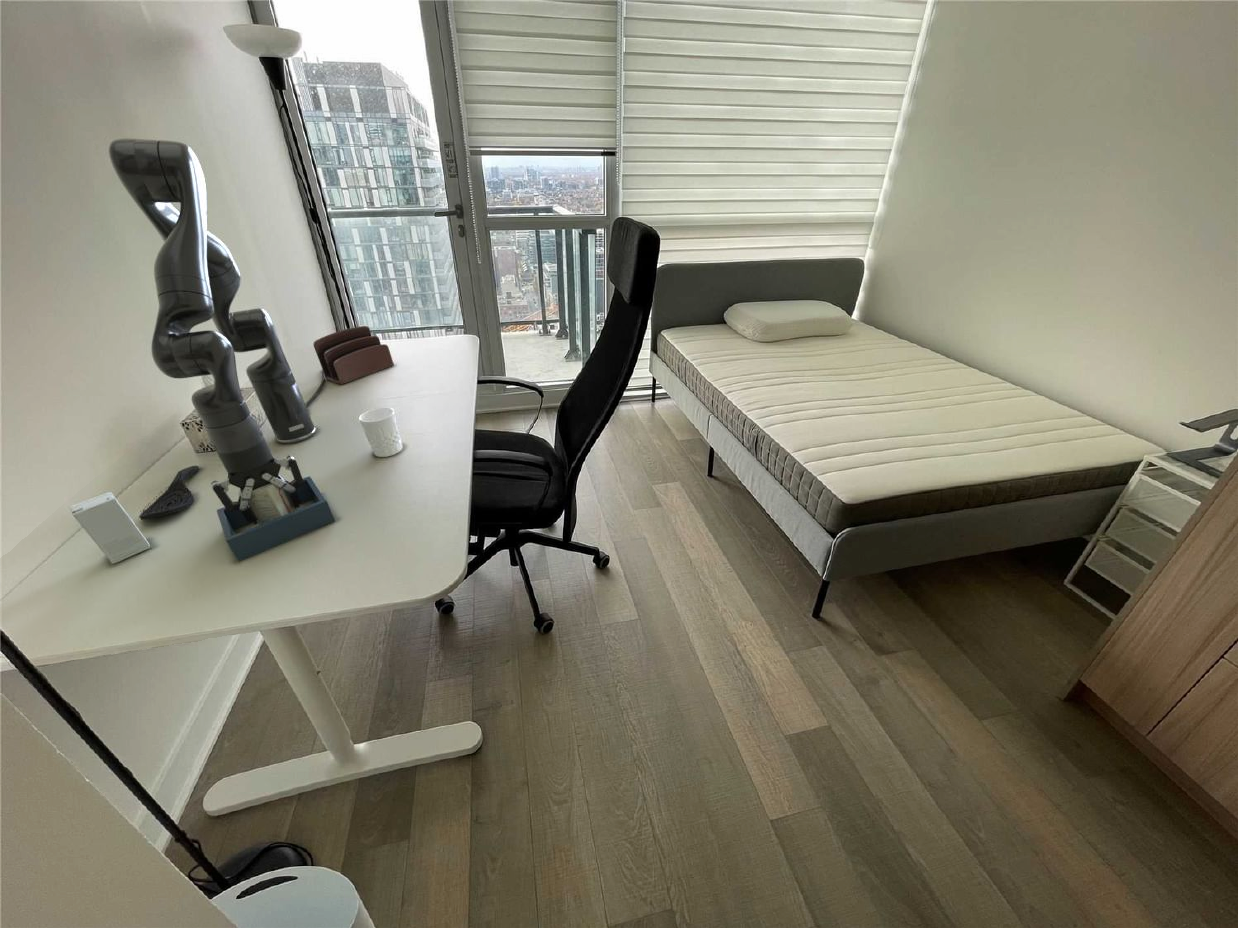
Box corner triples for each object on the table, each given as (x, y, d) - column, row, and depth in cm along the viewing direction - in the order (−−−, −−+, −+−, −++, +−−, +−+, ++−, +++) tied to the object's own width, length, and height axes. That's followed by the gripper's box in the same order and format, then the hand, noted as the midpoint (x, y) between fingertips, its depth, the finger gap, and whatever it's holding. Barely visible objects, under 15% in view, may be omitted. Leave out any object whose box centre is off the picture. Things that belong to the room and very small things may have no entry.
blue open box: (227, 529, 103) (216, 509, 100) (318, 494, 112) (309, 475, 109) (238, 561, 94) (226, 540, 92) (335, 521, 103) (326, 501, 101)
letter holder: (325, 379, 172) (310, 338, 165) (378, 361, 185) (366, 322, 178) (341, 385, 167) (325, 343, 159) (394, 365, 180) (382, 326, 173)
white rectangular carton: (300, 517, 105) (280, 476, 100) (289, 531, 101) (268, 489, 96) (274, 519, 105) (253, 478, 100) (262, 533, 101) (240, 491, 96)
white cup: (393, 459, 123) (381, 422, 118) (365, 457, 125) (351, 421, 120) (411, 443, 130) (400, 407, 125) (383, 441, 132) (371, 406, 126)
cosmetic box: (146, 539, 101) (111, 489, 95) (152, 548, 99) (116, 497, 93) (107, 556, 98) (67, 505, 91) (111, 566, 95) (71, 514, 89)
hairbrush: (209, 454, 125) (173, 505, 104) (216, 467, 126) (182, 519, 106) (169, 462, 122) (124, 516, 102) (176, 476, 124) (134, 531, 103)
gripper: (278, 421, 99) (310, 492, 108) (189, 448, 92) (231, 521, 100) (287, 434, 94) (319, 506, 103) (194, 464, 87) (237, 539, 95)
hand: (276, 514), depth 102 cm, fingers open, 7 cm apart
